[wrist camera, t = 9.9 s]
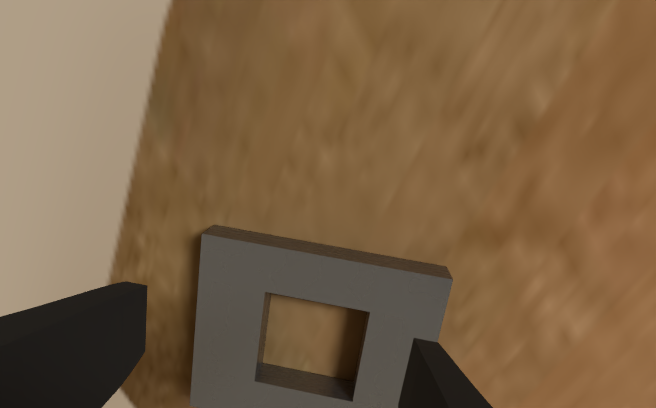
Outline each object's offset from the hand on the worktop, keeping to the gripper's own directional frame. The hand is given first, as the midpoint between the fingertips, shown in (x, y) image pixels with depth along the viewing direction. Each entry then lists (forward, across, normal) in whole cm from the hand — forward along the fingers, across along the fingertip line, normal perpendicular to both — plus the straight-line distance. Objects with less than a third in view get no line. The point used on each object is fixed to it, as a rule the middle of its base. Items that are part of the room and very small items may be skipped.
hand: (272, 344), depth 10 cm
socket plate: (+9, 0, +6) cm, 11 cm away
